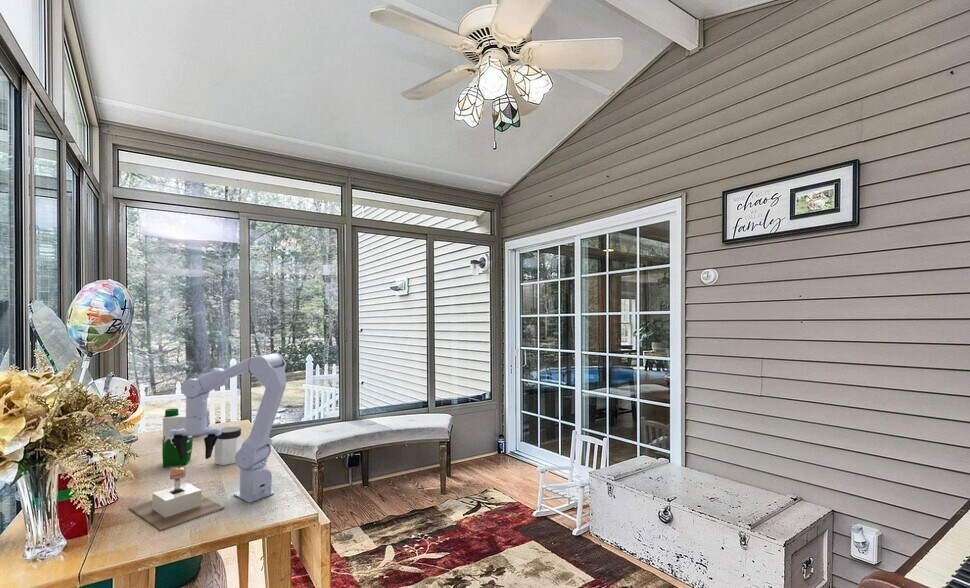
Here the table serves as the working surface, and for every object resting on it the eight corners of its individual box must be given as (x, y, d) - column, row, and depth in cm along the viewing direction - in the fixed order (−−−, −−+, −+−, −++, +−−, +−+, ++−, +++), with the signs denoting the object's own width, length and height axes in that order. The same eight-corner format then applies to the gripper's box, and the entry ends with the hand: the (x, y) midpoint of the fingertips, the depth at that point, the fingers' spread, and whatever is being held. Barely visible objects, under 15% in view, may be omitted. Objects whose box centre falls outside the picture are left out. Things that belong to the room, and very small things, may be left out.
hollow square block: (200, 505, 131) (201, 489, 131) (165, 517, 124) (165, 500, 124) (186, 497, 136) (187, 482, 137) (152, 508, 129) (152, 492, 129)
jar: (214, 467, 163) (215, 433, 163) (213, 460, 170) (214, 428, 170) (242, 462, 168) (243, 430, 168) (240, 456, 175) (241, 425, 175)
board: (224, 508, 131) (224, 507, 131) (160, 531, 117) (160, 529, 117) (190, 490, 143) (190, 488, 143) (128, 508, 130) (128, 507, 130)
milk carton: (166, 460, 169) (167, 407, 169) (194, 457, 172) (195, 405, 173) (159, 468, 161) (160, 412, 161) (188, 465, 164) (190, 410, 165)
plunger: (186, 493, 131) (187, 467, 131) (172, 497, 128) (173, 471, 128) (181, 490, 133) (181, 465, 133) (167, 494, 130) (168, 468, 130)
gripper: (226, 412, 148) (225, 453, 148) (179, 412, 147) (178, 454, 146) (215, 417, 141) (215, 460, 141) (166, 418, 140) (165, 462, 139)
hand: (195, 458), depth 143 cm, fingers open, 7 cm apart
